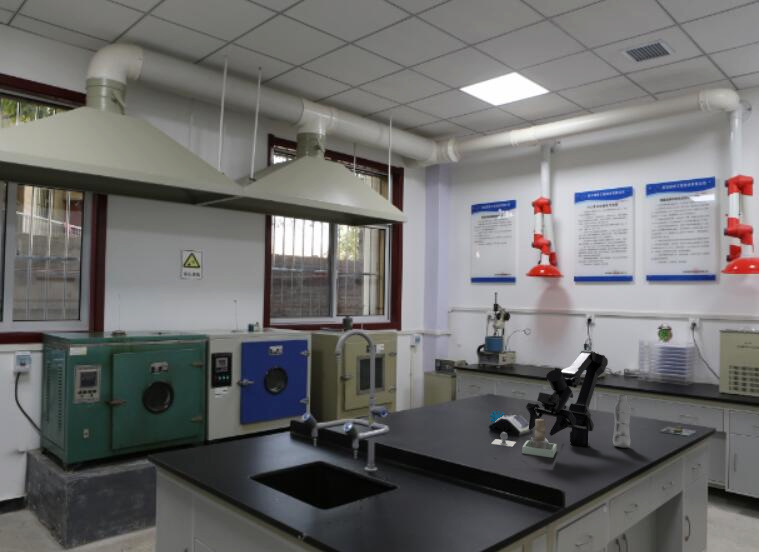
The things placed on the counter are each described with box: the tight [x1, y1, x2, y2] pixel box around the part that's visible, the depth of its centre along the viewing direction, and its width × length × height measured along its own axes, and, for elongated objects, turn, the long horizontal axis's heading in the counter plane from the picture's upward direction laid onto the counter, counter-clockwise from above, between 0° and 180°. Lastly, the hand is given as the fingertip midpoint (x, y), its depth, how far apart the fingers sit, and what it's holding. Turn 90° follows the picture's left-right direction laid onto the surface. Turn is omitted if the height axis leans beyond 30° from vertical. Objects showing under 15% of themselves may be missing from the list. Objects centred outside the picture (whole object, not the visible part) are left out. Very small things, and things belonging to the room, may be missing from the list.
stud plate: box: [491, 431, 517, 448], centre depth 213 cm, size 8×8×5 cm
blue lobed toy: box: [489, 410, 505, 425], centre depth 244 cm, size 11×6×10 cm
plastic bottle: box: [612, 394, 632, 449], centre depth 220 cm, size 6×7×20 cm
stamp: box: [530, 418, 550, 449], centre depth 202 cm, size 5×5×12 cm
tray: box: [521, 439, 558, 458], centre depth 202 cm, size 11×11×4 cm
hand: (539, 432), depth 202 cm, fingers open, 9 cm apart
